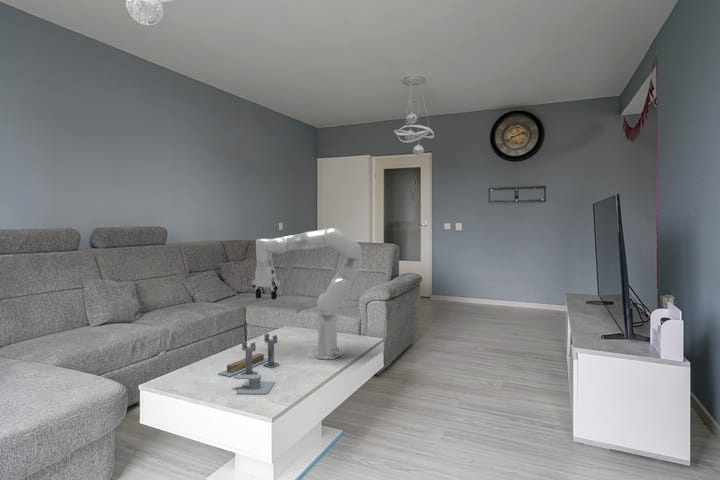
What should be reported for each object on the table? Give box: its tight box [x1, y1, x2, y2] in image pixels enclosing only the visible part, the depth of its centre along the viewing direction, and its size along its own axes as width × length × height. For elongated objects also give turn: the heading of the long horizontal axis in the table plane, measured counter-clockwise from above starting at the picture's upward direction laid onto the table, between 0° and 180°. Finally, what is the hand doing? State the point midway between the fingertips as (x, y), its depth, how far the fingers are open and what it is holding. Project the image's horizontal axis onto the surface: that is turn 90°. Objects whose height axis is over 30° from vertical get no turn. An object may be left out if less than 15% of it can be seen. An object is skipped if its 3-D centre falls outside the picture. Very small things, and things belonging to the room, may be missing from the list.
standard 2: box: [262, 333, 280, 369], centre depth 193 cm, size 6×5×14 cm
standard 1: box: [240, 340, 259, 375], centre depth 181 cm, size 6×5×14 cm
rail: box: [226, 352, 265, 373], centre depth 192 cm, size 3×20×3 cm, turn 150°
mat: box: [218, 357, 268, 378], centre depth 192 cm, size 7×26×1 cm, turn 150°
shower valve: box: [233, 374, 276, 396], centre depth 167 cm, size 12×6×15 cm
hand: (266, 298), depth 204 cm, fingers open, 9 cm apart
